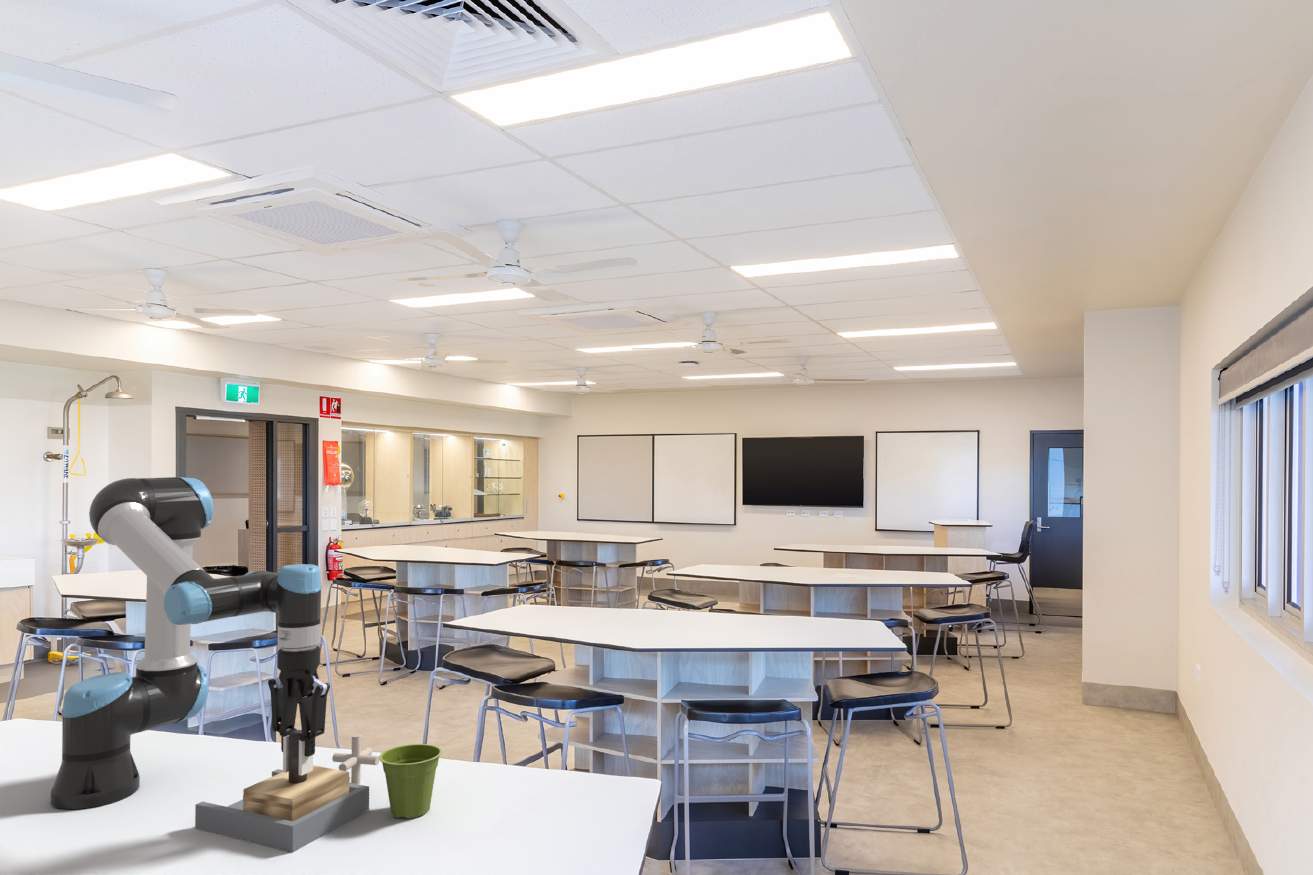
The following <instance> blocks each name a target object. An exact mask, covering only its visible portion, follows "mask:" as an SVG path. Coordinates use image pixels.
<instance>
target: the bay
mask: <svg viewBox="0 0 1313 875" xmlns="http://www.w3.org/2000/svg"><path fill="white" fill-rule="evenodd" d="M282 772H283V769H278V768H277V769H275V770H273V771H271V777H272V776H275V775H277V774H279V773H282ZM194 808H195V809H194V811H195V814H194V818H195V820H194V821H195V822H194V829H195V830H198V831H200V832H205V833H210V834H215V835H219V836H223V837H227V838H231V839H236V840H239V841H240V840H241V841H244V842H247V843H248V842H249V843H251V844H252V843H253V844H256V845H260V846H265V847H269V848H272V849H276V850H282V851H285V850H286V852H289V853H294V852H296V851H297V850H300V849H301V848H304V846H306V845H308V844H310V843H312V842H314V841H315V840H318V839H319V838H321V837H323V836H325V835H327V834H328V833H330V832H332V831H334V830H335V829H337V828H339V827H341V826H343V825H344V824H346V823H348V822H350V821H351V820H354V819H355V818H357V817H359V816H361V815H363V814H364V813H366V812H368V811H369V810H370V786H369V785H364V784H353V783H351V782H349V793H348V794H346V795H344V796H342V797H340V798H338V799H336V800H334V801H332V802H330V803H328V804H326V805H324V806H322V807H320V808H318V809H316V810H314V811H312V812H311V813H309V814H307V815H305V816H303V817H301V818H299V819H297V820H295V821H289V820H285V819H280V818H276V817H271V816H267V815H262V814H257V813H253V812H248V811H244V810H243V799H240V800H239V801H236V802H234V803H232V804H229V805H227V806H226V805H225V806H224V805H220V804H217V803H212V802H206V801H201V802H198V803H196V804H195V807H194ZM367 810H368V811H367ZM358 815H359V816H358ZM356 816H357V817H356Z"/></svg>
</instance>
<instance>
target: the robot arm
mask: <svg viewBox="0 0 1313 875" xmlns="http://www.w3.org/2000/svg"><path fill="white" fill-rule="evenodd" d="M213 502H214V501H213V497H212V494H211V492H210V490H209V489H208V488H207V486H206V484H205V483H204V482H202V481H201V480H199V479H198V478H193V477H183V476H181V477H179V476H171V477H170V476H169V477H166V476H165V477H145V478H143V477H139V478H136V477H132V478H131V477H129V478H128V477H127V478H121V479H119V480H115V481H112V482H111V483H109V484H107V485H105V486H104V487H103V488H102V489H100V491H98V492H97V494H96V495H95V496H94V498H93V500H92V501H91V504H90V508H89V511H88V512H89V513H88V514H89V516H88V517H89V522H90V526H91V528H92V530H93V531H94V532H95V534H96V535H97V537H99V538H100V539H101V540H102V541H103V542H104V543H106V544H108V545H112V546H116V547H117V548H118V549H119V550H120V551H121V552H122V553H123V554H124V555H125V556H126V557H127V558H128V559H129V560H131V562H132V563H133V564H134V565H135V566H136V567H137V568H138V569H140V570H141V571H142V573H143V574H144V575H145V576H146V594H145V596H146V597H145V598H146V599H145V626H144V628H145V631H144V632H145V633H144V634H145V635H144V657H143V658H142V659H141V660H140V661H138V662H137V664H136V665H135V676H133V677H132V675H131V674H130V673H128V672H123V671H121V672H111V673H108V674H106V673H104V674H103V673H102V674H99V675H96V676H92V677H89V678H85V679H82V680H81V681H78V682H76V683H75V684H73V685H71V686H70V687H69V688H68V689H67V690H66V691H65V693H64V695H63V702H62V703H63V704H62V708H61V709H62V710H61V716H62V724H61V726H62V727H61V728H62V729H61V730H62V731H61V732H62V736H61V739H62V740H61V743H62V746H61V748H62V749H61V750H62V751H61V758H62V759H61V764H60V767H59V769H58V772H57V774H56V777H55V780H54V783H53V787H52V788H51V790H50V805H51V806H52V807H54V808H57V809H62V810H80V809H87V808H89V809H90V808H95V807H100V806H105V805H108V804H111V803H114V802H117V801H120V800H121V801H122V800H123V799H126V798H127V797H129V796H131V795H134V794H135V793H137V791H138V790H139V789H140V779H141V778H140V772H139V770H138V768H137V766H136V763H135V760H134V757H133V755H132V752H131V737H132V735H135V734H137V733H142V732H146V731H149V730H153V729H157V728H161V727H165V726H167V725H175V724H179V723H182V721H185V720H189V719H193V718H194V717H195V716H197V715H198V714H199V713H200V711H202V710H203V708H204V706H205V704H206V702H207V699H208V696H209V695H208V694H209V689H210V687H209V686H210V683H209V678H208V674H207V672H206V670H205V668H204V667H203V666H202V665H200V664H198V659H197V657H195V656H194V655H193V654H191V653H192V652H191V651H190V650H191V629H192V628H191V625H198V624H203V623H205V622H206V623H207V622H211V621H212V622H213V621H216V620H217V621H218V620H222V619H227V618H228V619H229V618H234V617H239V616H240V617H241V616H247V615H252V614H257V613H264V612H267V613H275V614H277V646H278V647H279V648H278V650H277V658H276V660H277V662H276V663H277V667H276V668H277V669H278V671H280V672H279V673H278V674H279V675H278V676H277V677H274V678H270V679H268V681H267V685H268V688H269V691H270V703H271V704H270V706H271V710H270V712H271V728H272V731H273V732H276V733H279V736H280V737H281V738H280V741H281V742H280V744H281V745H280V750H281V753H282V770H283V772H288V771H289V733H290V732H292V731H295V730H298V728H297V727H296V728H295V724H296V720H297V712H298V711H299V716H300V727H301V730H302V738H299V739H300V740H299V775H301V776H302V775H304V774H306V773H308V772H311V771H313V765H314V755H315V752H316V738H317V737H318V736H321V735H324V734H325V729H326V716H327V715H326V714H327V700H328V693H329V691H330V689H331V688H330V687H331V684H330V683H329V682H325V683H323V681H321V680H320V679H319V678H320V676H319V674H318V667H319V666H320V665H321V647H320V646H319V645H320V644H321V613H322V612H321V611H322V610H321V609H322V607H321V606H322V588H323V585H322V583H321V582H322V580H321V579H322V578H321V569H320V567H319V566H318V565H315V564H312V563H311V564H310V563H308V564H306V563H298V564H296V563H295V564H290V565H289V564H288V565H287V564H286V565H283V566H281V567H279V569H278V572H271V571H268V570H259V571H258V570H257V571H255V570H253V571H248V572H247V573H245V574H243V575H236V576H227V577H222V578H221V577H220V578H219V577H218V578H214V577H212V575H210V573H208V572H207V571H205V570H204V568H202V566H200V565H199V564H198V563H197V562H196V561H195V560H194V559H193V557H194V556H193V554H194V553H193V549H194V545H195V544H196V543H197V542H198V541H199V540H200V539H201V537H202V530H203V529H206V528H207V527H209V526H210V524H211V523H212V520H213V518H214V513H215V512H214V507H215V506H214V503H213ZM298 709H299V710H298ZM297 710H298V711H297Z"/></svg>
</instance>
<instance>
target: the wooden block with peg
mask: <svg viewBox="0 0 1313 875" xmlns="http://www.w3.org/2000/svg"><path fill="white" fill-rule="evenodd" d="M299 738H302V729H297V730H295V731H292V732H290V733H289V771H288V772H282V773H279V774H277V775H275V776H272V775H271V776H270V777H268V778H266V779H264V780H261V781H259V782H257V783H255V784H252V785H250V786H248V787H245V788H243V789H242V790H243V793H242V794H243V795H242V800H243V810H244V811H248V812H253V813H257V814H262V815H267V816H271V817H276V818H280V819H285V820H289V821H295V820H297V819H299V818H301V817H303V816H305V815H307V814H309V813H311V812H312V811H314V810H316V809H318V808H320V807H322V806H324V805H326V804H328V803H330V802H332V801H334V800H336V799H338V798H340V797H342V796H344V795H346V794H348V793H349V783H351V780H350V778H351V777H350V771H348V770H347V771H341V770H339V769H336V768H335V769H334V768H329V767H324V766H318V765H314V764H313V771H311V772H308V773H306V774H304V775H302V776H301V775H299V740H300V739H299Z"/></svg>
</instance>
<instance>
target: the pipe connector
mask: <svg viewBox="0 0 1313 875" xmlns="http://www.w3.org/2000/svg"><path fill="white" fill-rule="evenodd" d="M361 746H362V735H361V734H359V733H355V734H352V735H351V753H342V752H334V753H333V755H332V757H331V758H332V762H334V763H340V764H339V765H338V770H341V771H347V772H348V770H350V769H351V772H350V773H351V775H350V776H351V777H350V778H351V780H350V783H353V784H359V785H361V775H362V774H361V771H362V770H361V769H362V768H361V766H362V765H368V766H378V765H379V763H380V762H381V761H380V759H379V756H380V755H378V756H377V755H372V754H373V749H372V747H370V746H367V747H366V748H364V749H362V747H361Z"/></svg>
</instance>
